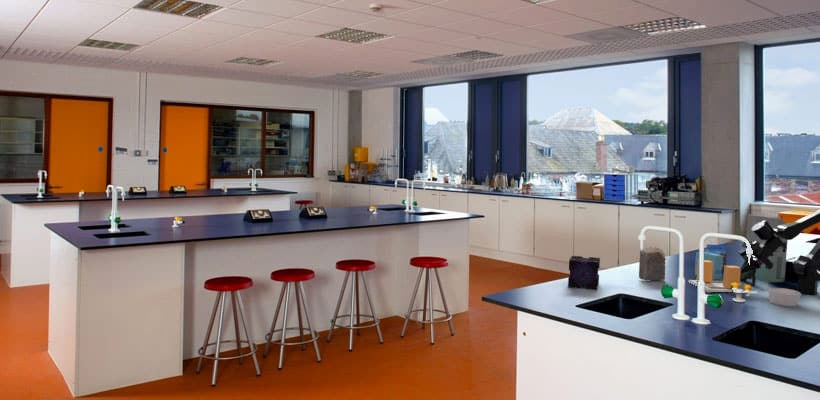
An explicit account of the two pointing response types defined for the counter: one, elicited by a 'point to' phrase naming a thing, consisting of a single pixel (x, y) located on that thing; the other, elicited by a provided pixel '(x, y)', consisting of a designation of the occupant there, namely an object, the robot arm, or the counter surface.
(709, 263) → the tab
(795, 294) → the ramekin
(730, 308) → the counter surface
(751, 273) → the gun
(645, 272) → the geological specimen
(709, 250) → the label tape box
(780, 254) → the device
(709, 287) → the dip bank
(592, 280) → the energy cube
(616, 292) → the counter surface
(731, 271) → the orange rectangular block
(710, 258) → the data package
